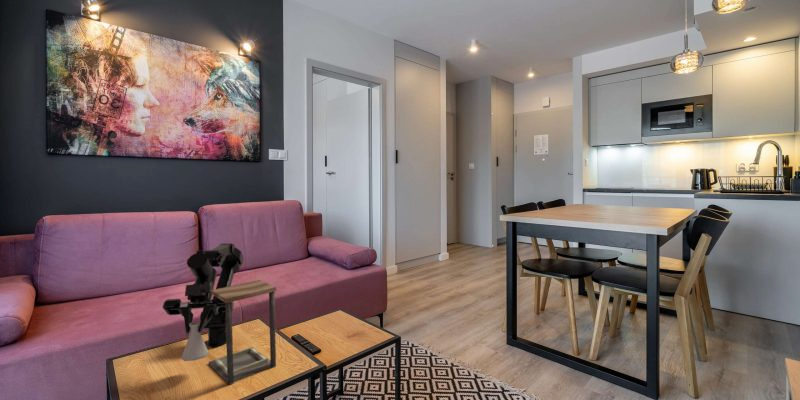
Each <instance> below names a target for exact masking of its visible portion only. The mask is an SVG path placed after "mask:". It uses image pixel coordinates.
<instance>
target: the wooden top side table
mask: <svg viewBox="0 0 800 400" xmlns="http://www.w3.org/2000/svg"><path fill="white" fill-rule="evenodd" d="M276 291H277V286H274V285H273V284H270V283H267V282H266V281H263V280H261V279H259V280H253V281H248V282H244V283H240V284H234V285H231V286H229V287H225V288H220V289H216V288H215V289H213V290H211V292H212V296H215V297H217V298H218V299H220V300H222V301H223V302H225V312H226V343H225V344H226V355H223V356H220V357H218V358H214V359H213V360H210V361H208V365H210V367H212V368H213V370H214V371H215V372H217V374H219V376H221V378H223V379H224V381H225V382H226V383H227V385H228V386H231V385H233V384H235V382H236V381H237V382H238V381H239V380H241V379H244V378H245V379H246V378H248V377H249V376H252V375H255V374H257V373H260V372H263V371H265V370H268V369H270V368H275V367H276V366H277V352H276V350H277V347H276V346H277V345H276V308H275V307H276V305H275V304H276V302H275V298H276V297H275V294H276ZM265 294H268V306H269V307H268V308H269V309H268V310H269V313H268V314H269V353H270V355H269V356H270V357H269V358H270V359H269V358H268V357H266V356H265V355H264V354H263V353H261V352H260V351H259V350H257V349H255V348H254V347H253V346H250V347H247V348H244V349H241V350H238V351H235V352H234V347H233V345H234V342H233V340H234V339H233V311H232V303H231V302H233V303H234V302H237V301H241V300H245V299H250V298H253V297H254V298H255V297H257V296H261V295H265Z"/></svg>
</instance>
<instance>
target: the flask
mask: <svg viewBox="0 0 800 400" xmlns="http://www.w3.org/2000/svg"><path fill="white" fill-rule="evenodd" d="M200 322H201V321H192V323H190V324H189V326H190V331H189V334H188V338H187V341H186V344H185V347H184V350H183V352H182V355H181V360H182V361H183V362H189V361H190V362H191V361H193V362H194V361H198V360H200V359H204V358H206V357H207V356H208V355H209V354H210V352H209V350H208V348H207V345H206V344H205V343H204V342H205V340H204V339H203V336H202V332H201V333H199V332H198V331H199V325H200Z"/></svg>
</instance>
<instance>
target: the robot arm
mask: <svg viewBox="0 0 800 400" xmlns="http://www.w3.org/2000/svg"><path fill="white" fill-rule="evenodd" d="M243 263H244V255H243V253H242V250H240V249H239V248H237V247H236V246H235V244H234V243H232V242H231V243H220V244H219V245H218V246H216V247H215V248H213V249H204V250H203V249H202V250H196V252H195V253H194V254H192V255H190V256H189V258H188V259H187V260H186V264H187V267H188V268H189V270H190V272H191V273H192V275H193V276H194V277H195V280H194V283H192V284H186V285H185V291H184V297H187V301H182V300H181V299H180V298H170V299H169V298H168V299H166V300H165V301H164V302H163V305H162V309H163V310H164V311H165V313H166V314H167V315H169V316H178V315H179V316H180V315H181V316H182V317H183V319H184V327H185V333H186V335H189V333H190V326H189V324H190V323H192V322H193V318H194V313H193V312H192V311H193V309H202V311H201V313H200V316H199V317H200V318H199V320H200V325H199V331H198V332H199V333H201V334H202V331H203V330H204V329H207V334H208V335H207V336H208V338H207V340H204V343H205V345H206V346H208V347H210V348H211V349H213V348H214V349H215V348H217V347H221V346H222V345H225V344H226V312H225V302H223V301H222V300H220V299H218V298H217V297H215V296H214V295H212V292H211V290H215V289H220V288H225V287H229V286H232V282H233V279H234V276H235V274H236V273H238V271H240V269H241V267H242V265H243ZM219 267H220V270H221V271H220V274H219V277H217V276H218V275H217V273H218V272H217V270H216V268H219ZM217 278H218V281H217V285H216V287H215V283H216V279H217ZM214 288H215V289H214ZM231 303H232V312H233V311H234V306H235V305H234V301H233V302H231Z"/></svg>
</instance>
